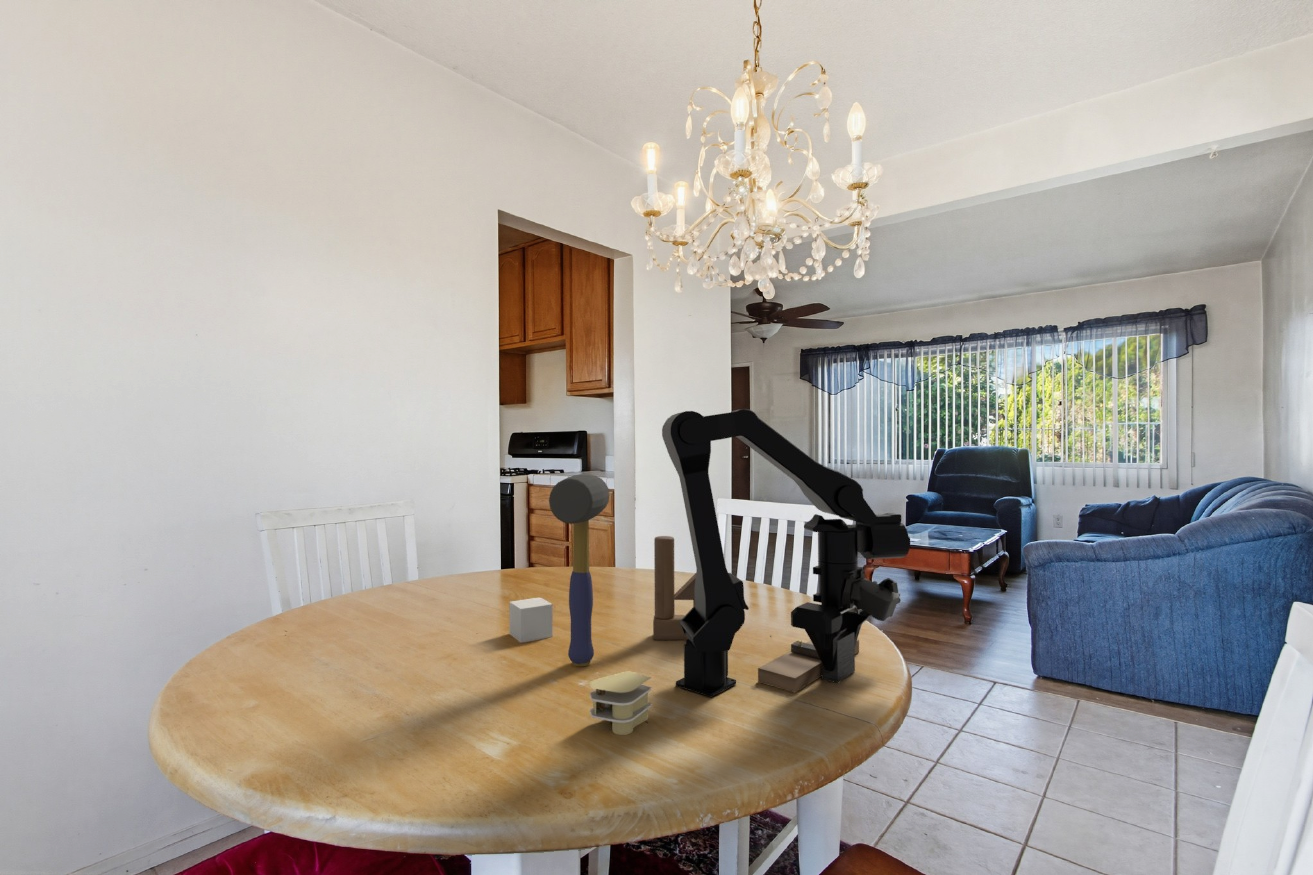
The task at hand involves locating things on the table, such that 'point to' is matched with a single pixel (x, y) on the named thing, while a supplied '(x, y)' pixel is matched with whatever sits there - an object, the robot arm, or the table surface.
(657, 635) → the brown post on base
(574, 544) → the rubber mallet
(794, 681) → the walnut board
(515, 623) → the grey cube
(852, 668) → the marking gauge
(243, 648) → the table surface
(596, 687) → the toy house
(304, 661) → the table surface
